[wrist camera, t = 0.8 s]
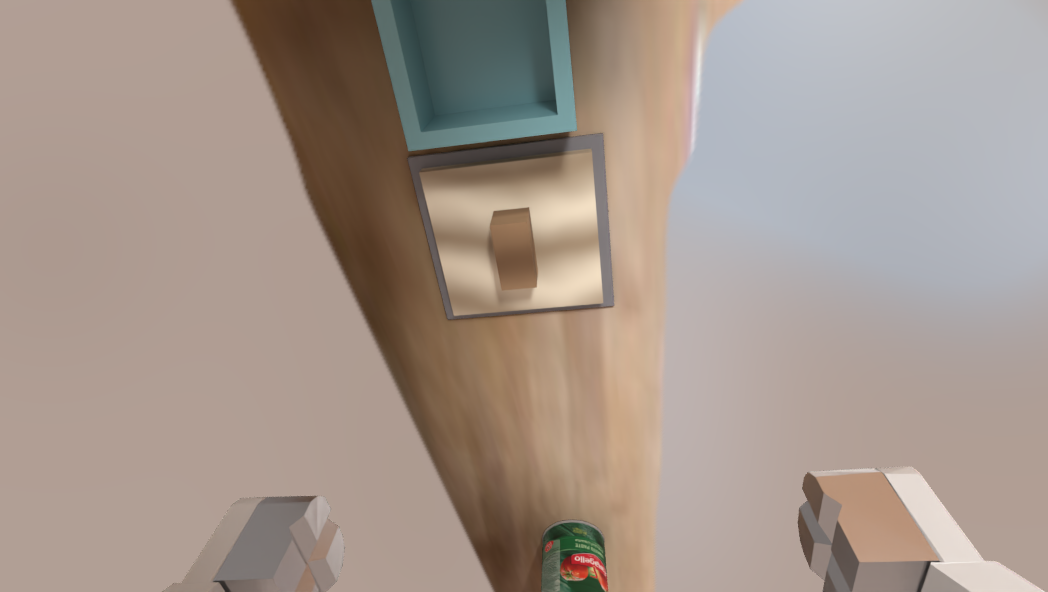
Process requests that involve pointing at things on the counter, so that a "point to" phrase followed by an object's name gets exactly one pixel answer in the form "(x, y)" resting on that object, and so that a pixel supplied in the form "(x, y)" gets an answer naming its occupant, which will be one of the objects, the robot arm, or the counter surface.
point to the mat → (514, 151)
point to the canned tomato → (573, 558)
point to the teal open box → (477, 69)
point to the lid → (517, 232)
